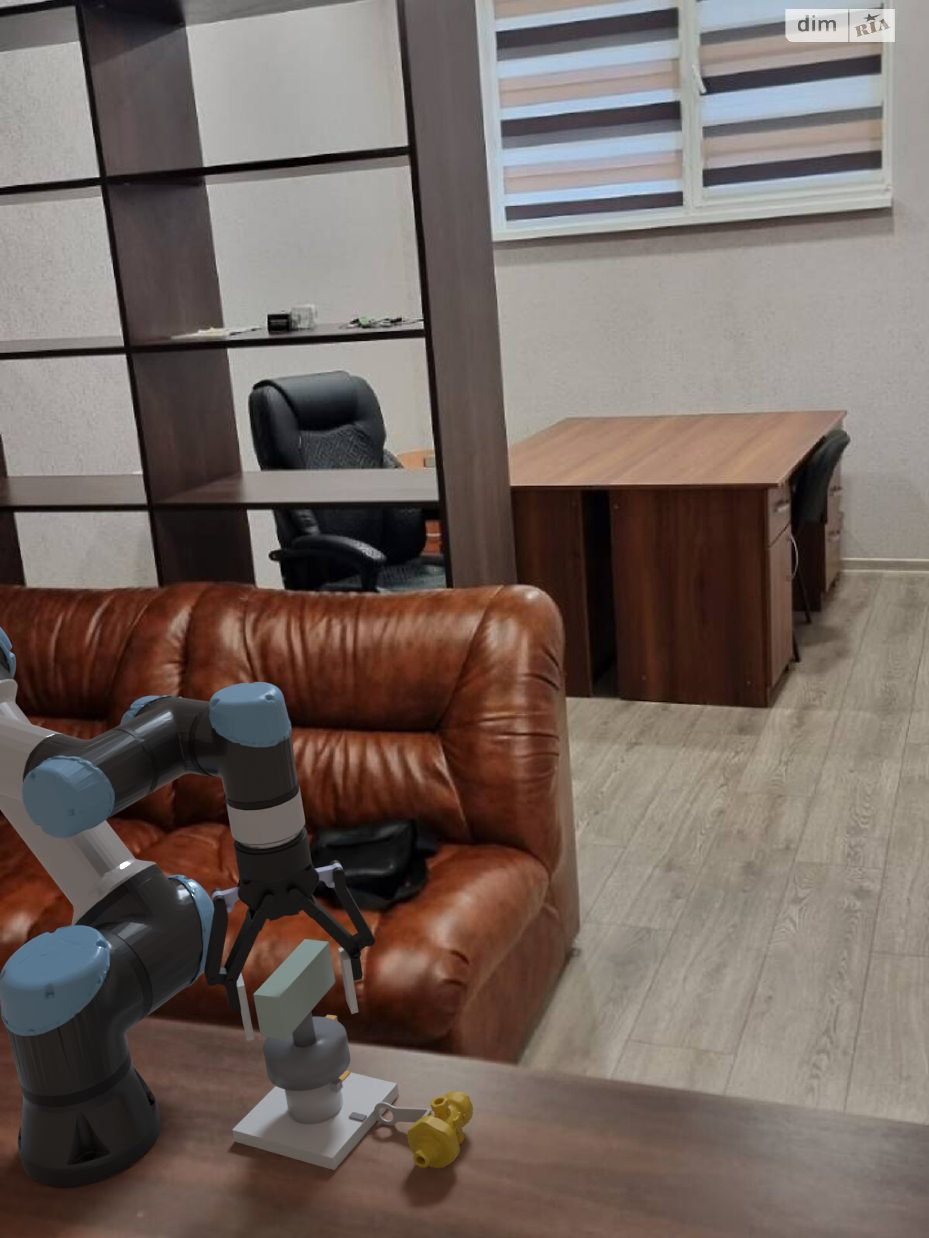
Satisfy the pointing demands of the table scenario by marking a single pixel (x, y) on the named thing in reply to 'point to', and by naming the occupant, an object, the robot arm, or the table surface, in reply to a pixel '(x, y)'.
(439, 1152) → the pressure relief valve
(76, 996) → the robot arm
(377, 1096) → the base
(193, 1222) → the table surface
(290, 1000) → the cap
